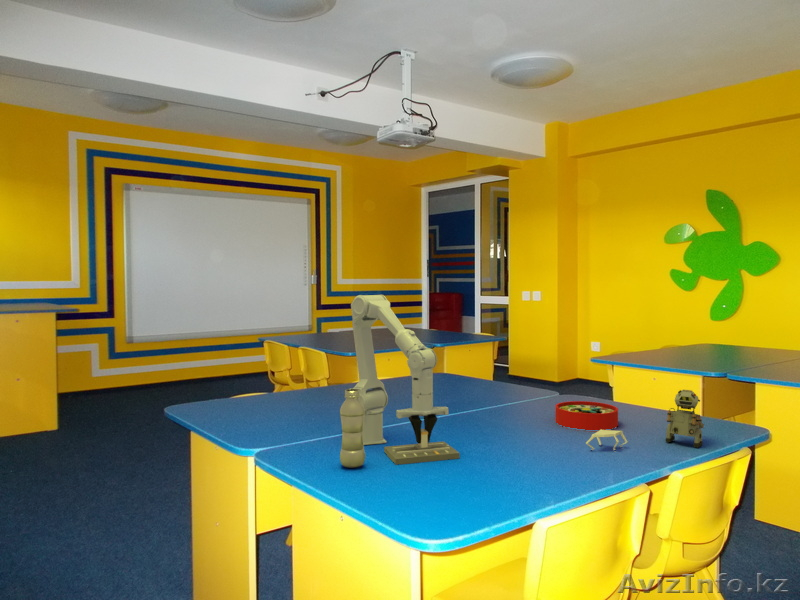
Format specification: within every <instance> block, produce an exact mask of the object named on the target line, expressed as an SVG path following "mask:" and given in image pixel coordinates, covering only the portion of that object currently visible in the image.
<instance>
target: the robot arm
mask: <svg viewBox="0 0 800 600" xmlns="http://www.w3.org/2000/svg"><path fill="white" fill-rule="evenodd" d="M350 308H351V317H352V322H351V323H352V331H353V339H354V340H353V341H354V346H355V355H356V362H357V363H356V364H357V370H358V371H357V372H358V382H357V383H356V384H355V386H354V387H352V389H358V390H359V395H360V397H359V400H360V402H361V403H362V404H363V406H364V409H365V414H364V422H363V445H364V446H365V445H368V446H369V445H378V444H387V440H386V439H385V438H384V435H383V434H384V433H383V430H384V428H383V426H384V425H383V424H384V421H383V420H384V419H383V412H385V408H386V407H387V405H388V402H389V396H388V393H387V391H386V387H385V384H384V383H383V382H382V381H381V380H380V379H379V378H378V372H377V363H376V356H375V350H374V349H375V347H374V342H373V334H372V326H373V325H374V324H375V323H376V322H377V321H378V320H380V321H381V323H382V324H383V325H384V326H385V327H386V328H387V329H388V330H389V331H390V332H391V333H392V335H394V336H395V338H394V339H395V340H394V342H395V344H396V346H397V347H398V348H399V349H400V351H401V352H402V353H403V354H404V356H405V357H406V358H407V360H406V363H407V367H408V368H409V371H410V376H411V407H409V408H404V409H403V408H401V409H396V412H395V414H396V418H397V419H402V418H408V420H409V422H410V424H411V426H412V429H413V433H414V436H415V442H416V444H418V443H421V429H422V423H424V426H423V427H424V429H425V430H426V431H428V443H430V440H431V436H432V433H433V429H434V427H435V425H436V423H437V422H438V416H439V415H440V416H441V415H443V416H448V415H449V407H447V406H434V389H433V387H434V383H433V382H434V380H433V378H434V376H433V375H434V372H433V371H434V370H433V369H434V368H435V367H436V366H437V363H438V357H437V354H436V352H435V351H434V349H432V348H429V347H427V346H425V344H423V343H422V342H421V340H420V339H419V338H418V337H417V336H416V332H414V330H411V329H410V328H409V329H406V328H405V327H404V325H403V324H402V323H401V321H400V320H399V318H398V317H397V316H396V314H395V313H394V310H392V309H391V302H390V301H389V300H388V298H387V297H386V296H385V295H384V294H374V295H370V294H369V295H368V294H365V295H363V294H359V295H357V296H355V297H354V299H353V301H352V302H351V304H350ZM421 417H423V419H421ZM422 420H423V422H422Z"/></svg>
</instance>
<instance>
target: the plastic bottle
mask: <svg viewBox="0 0 800 600" xmlns="http://www.w3.org/2000/svg"><path fill="white" fill-rule="evenodd" d="M359 397H360V395H359V390H358V389H353V388H346V389H344V398H345V400H344V401H343V402H342V404H341V406H340V409H339V415H340V422H341V423H340V424H341V431H342V432H341V436H342V437H341V449H340V453H339V461H340V464H341V465H342V466H343V467H345V468H350V469H353V468H359V467H362V466H363V465H364V463H365V460H366V452H365V451H366V450H365V447H364V446H365V445H363V422H364V414H365V409H364V406H363V404H362V403H361V402H360V400H359Z"/></svg>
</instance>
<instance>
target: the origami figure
mask: <svg viewBox="0 0 800 600" xmlns="http://www.w3.org/2000/svg"><path fill="white" fill-rule="evenodd" d="M619 435H620V437H622V440H623V441H624V442H623V443H621V444H619V443H620V440H619V439H618V437H617V436H619ZM610 437H614V439H615V441H616V442H615V444H614V446H613V447H612V449H613V451H614V450H616V447H617V445H618V444H619V447H620V448H621V447H623V445H625V444H627V443H628V440H627V439H626V436H625V434H624V431H623V430H599V431H595V433H593V434H591V436H590V438H589V439H588V440H587V441H586V442H585V444H586V445H587V446H589V447H590V448H591V450H592V451H593V450H595V447H593V445H591V444H590V442H591V441H593V439H595V438H596V439H597V442H598V445H600V446H601V445H602V441H601V439H600V438H610Z"/></svg>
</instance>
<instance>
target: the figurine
mask: <svg viewBox="0 0 800 600" xmlns="http://www.w3.org/2000/svg"><path fill="white" fill-rule="evenodd" d="M674 402H675V405H676V407H677V409H675V408H674V407H670V408H669V410H667V418H666V422H667V423H668V424H667V426H666V435H665V436H666V437H665V442H666V443H667V442H671V441H673V440H674V441H675V439H676V436H675V435H680V436H685V437H693V438H694V442H693V447H694V448H696V449H699V448H700V447H701V446H703V444H704V442H703V441H704V440H703V433H702V432H703V431H702V429H704V428H705V427H704V426H705V423H703V422H702V421H703V419H702V417H701V415H700V414H698V413H696V412H695V409H696V407H697V405H698V404H699V402H701V399H699V396H698V395H697V393H695V392H694V391H693V390H691V389H682V390H681V389H679V390H678V392H677V394H675V397H674ZM679 408H680V409H679ZM672 409H673V410H672ZM683 409H684V410H683ZM674 441H673V442H674ZM671 443H672V442H671Z"/></svg>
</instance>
